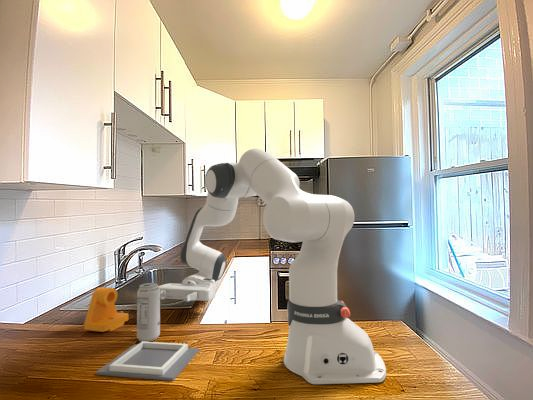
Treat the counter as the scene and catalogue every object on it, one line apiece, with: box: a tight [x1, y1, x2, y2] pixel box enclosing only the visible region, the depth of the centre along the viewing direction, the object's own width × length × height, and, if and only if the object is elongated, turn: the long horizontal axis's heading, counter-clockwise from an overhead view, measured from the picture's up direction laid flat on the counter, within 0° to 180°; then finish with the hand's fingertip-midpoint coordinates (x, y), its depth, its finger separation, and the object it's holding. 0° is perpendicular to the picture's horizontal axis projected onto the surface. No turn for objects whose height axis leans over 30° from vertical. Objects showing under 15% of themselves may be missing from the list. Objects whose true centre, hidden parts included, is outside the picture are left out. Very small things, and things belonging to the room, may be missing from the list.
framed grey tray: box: [95, 341, 200, 382], centre depth 71 cm, size 18×14×2 cm
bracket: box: [83, 286, 130, 333], centre depth 95 cm, size 11×7×12 cm, turn 164°
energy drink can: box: [136, 282, 161, 343], centre depth 85 cm, size 6×6×15 cm
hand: (172, 298), depth 96 cm, fingers open, 8 cm apart
